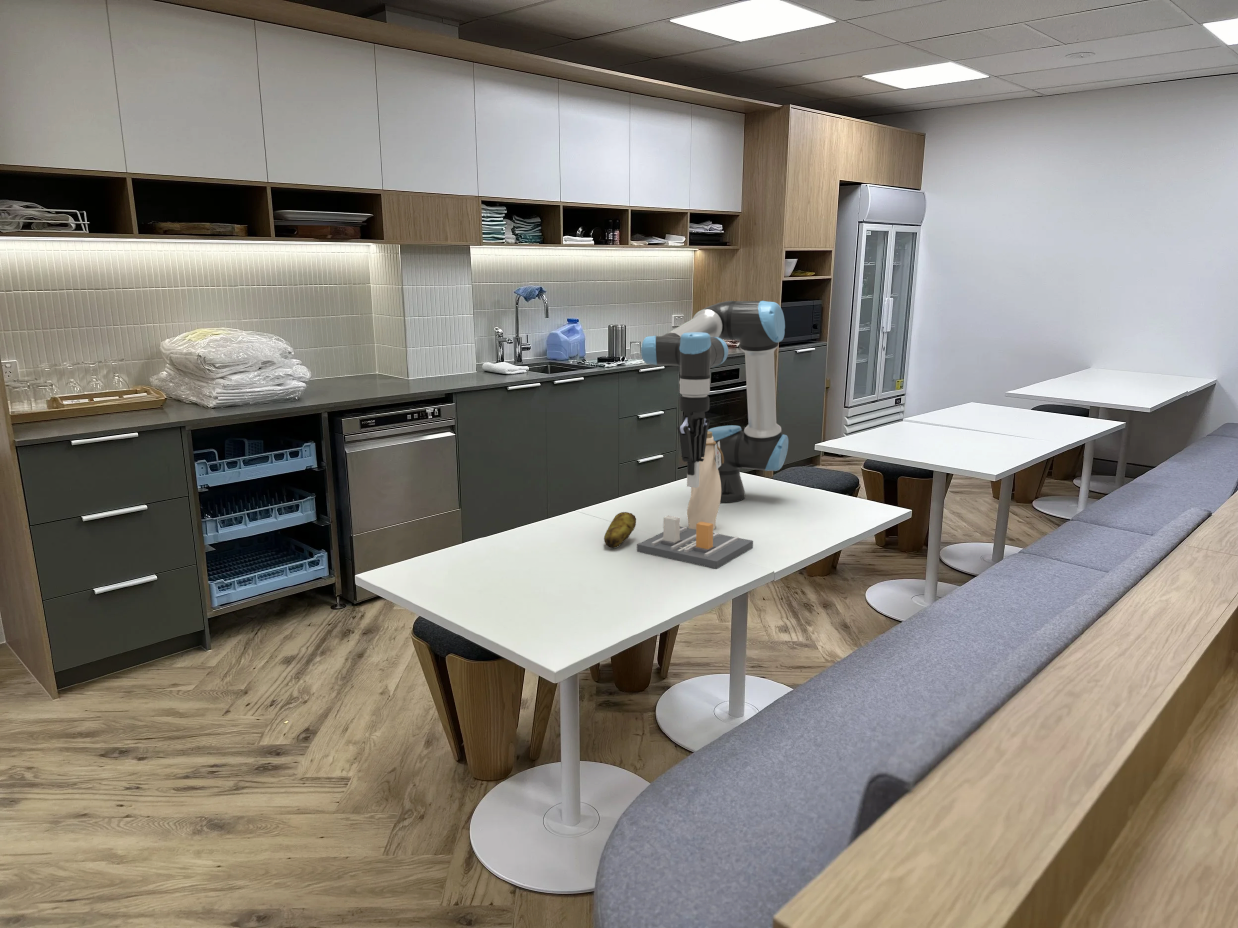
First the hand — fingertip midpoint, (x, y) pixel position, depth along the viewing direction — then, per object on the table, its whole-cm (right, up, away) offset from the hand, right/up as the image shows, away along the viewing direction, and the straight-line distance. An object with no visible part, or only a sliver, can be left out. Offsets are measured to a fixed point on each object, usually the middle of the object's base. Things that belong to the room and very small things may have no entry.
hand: (693, 486), depth 221 cm
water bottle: (+6, -13, +29) cm, 32 cm away
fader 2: (+3, -17, +3) cm, 17 cm away
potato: (-19, -16, +15) cm, 29 cm away
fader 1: (-5, -15, +9) cm, 18 cm away
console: (+1, -17, +9) cm, 20 cm away
